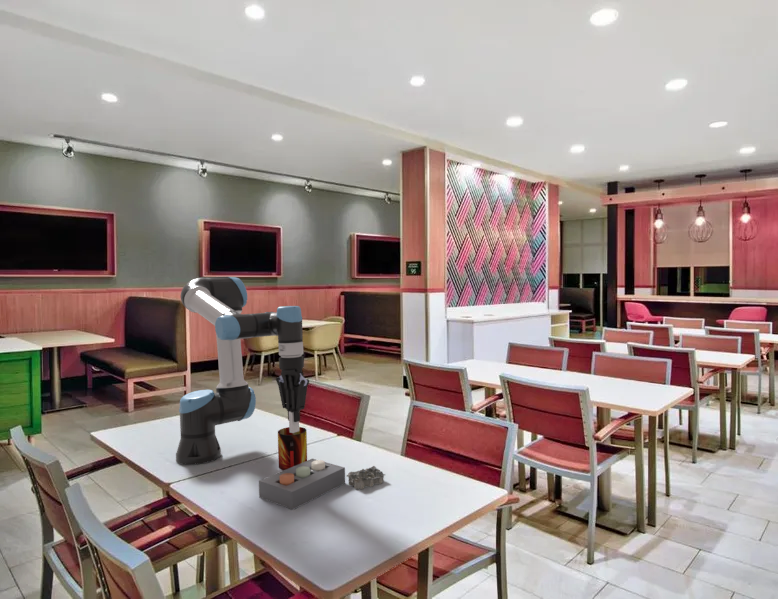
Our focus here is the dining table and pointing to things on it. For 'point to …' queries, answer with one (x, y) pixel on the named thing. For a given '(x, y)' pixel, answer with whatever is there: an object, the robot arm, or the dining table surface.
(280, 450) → the mug
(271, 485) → the console
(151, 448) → the dining table surface
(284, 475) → the rust button
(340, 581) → the dining table surface
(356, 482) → the egg carton
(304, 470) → the sage button
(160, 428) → the dining table surface
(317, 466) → the cream button
